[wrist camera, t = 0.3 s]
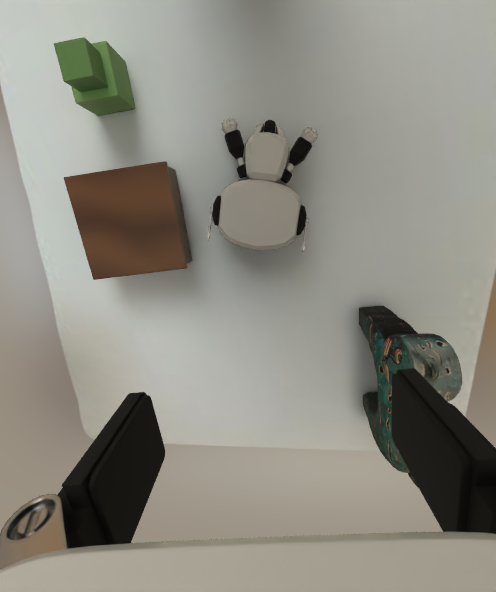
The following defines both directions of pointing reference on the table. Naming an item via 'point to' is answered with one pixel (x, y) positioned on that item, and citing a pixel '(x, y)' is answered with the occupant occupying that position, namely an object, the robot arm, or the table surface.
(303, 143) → the robot toy
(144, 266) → the walnut plinth
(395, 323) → the ceramic cat
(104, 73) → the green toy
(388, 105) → the table surface
